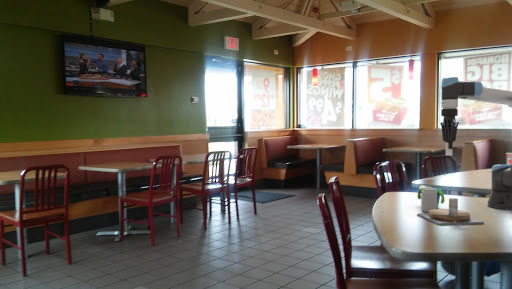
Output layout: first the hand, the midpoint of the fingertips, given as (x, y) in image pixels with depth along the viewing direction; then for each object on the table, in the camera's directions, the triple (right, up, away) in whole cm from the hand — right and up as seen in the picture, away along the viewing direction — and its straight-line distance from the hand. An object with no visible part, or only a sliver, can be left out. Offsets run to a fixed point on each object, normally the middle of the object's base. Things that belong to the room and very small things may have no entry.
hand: (448, 155), depth 211 cm
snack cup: (-2, -29, +17) cm, 34 cm away
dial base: (-6, -30, -12) cm, 33 cm away
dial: (-6, -29, -13) cm, 32 cm away
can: (-7, -29, +7) cm, 31 cm away
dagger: (+8, -28, +45) cm, 53 cm away
